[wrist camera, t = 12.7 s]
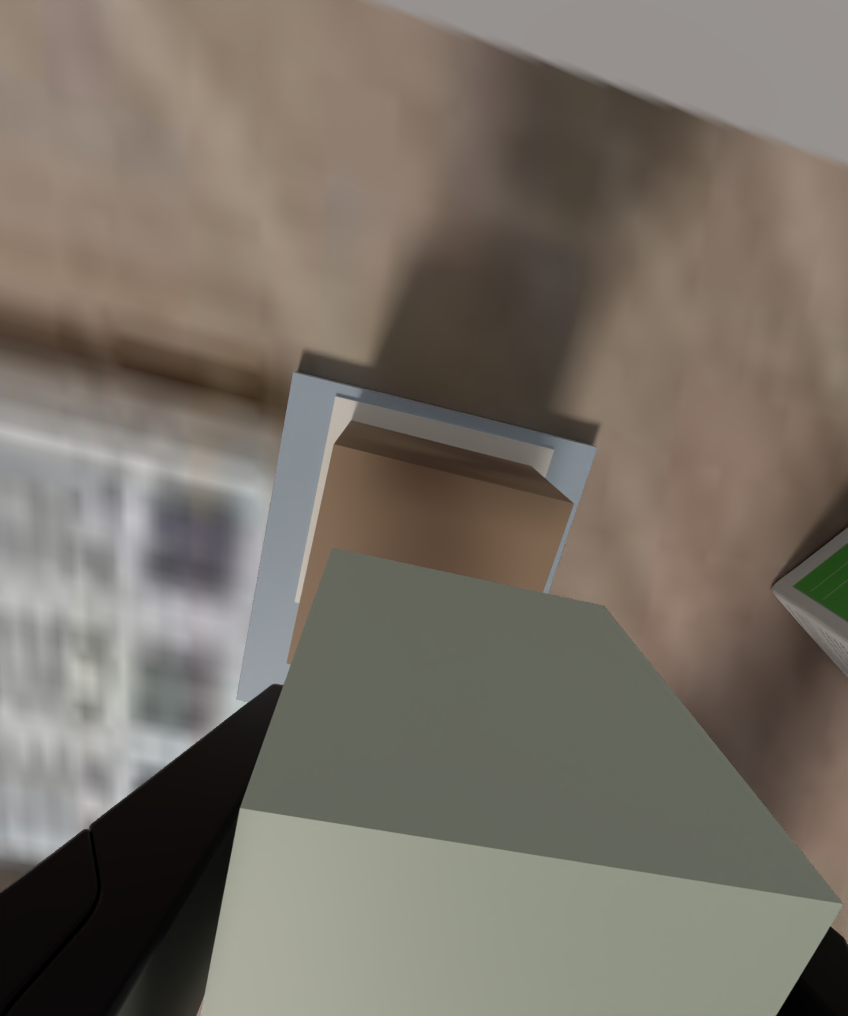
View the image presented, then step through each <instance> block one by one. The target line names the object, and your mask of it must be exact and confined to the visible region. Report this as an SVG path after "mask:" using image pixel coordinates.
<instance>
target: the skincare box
mask: <svg viewBox="0 0 848 1016" xmlns="http://www.w3.org/2000/svg"><path fill="white" fill-rule="evenodd" d="M771 589H772V592H773V593H774V595H775V596H776V597H777V598H778V600H779V601H780V602H781V603H782V605H783V606H784V607H785V608H786V609H787V610H788V611H789V613H790V614H791V615H792V616H793V617H794V618H795V619H796V621H797V622H798V623H799V624H800V625H801V626H802V627H803V628H804V630H805V631H806V632H807V633H808V634H809V635H810V636H811V637H812V639H813V640H814V641H815V642H816V643H817V644H818V645H819V646H820V648H821V649H822V650H823V651H824V652H825V653H826V654H827V655H828V657H829V658H830V659H831V660H832V661H833V662H834V663H835V664H836V665H837V667H838V668H839V669H840V670H841V671H842V672H843V673H844V674H845V675H846V677H847V678H848V527H847V528H846V529H845V530H844V531H842V532H841V533H840V534H838V535H837V536H836V537H835V538H833V539H832V540H831V541H830V542H828V543H827V544H826V545H824V546H823V547H822V548H821V549H819V550H818V551H817V552H815V553H814V554H813V555H812V556H810V557H809V558H808V559H806V560H805V561H804V562H803V563H801V564H800V565H799V566H798V567H796V568H795V569H793V570H792V571H790V572H789V573H788V574H786V575H785V576H784V577H783V578H781V579H780V580H779V581H777V582H776V583H775V584H774V585H773V586H772V588H771Z"/></svg>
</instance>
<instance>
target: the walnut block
mask: <svg viewBox="0 0 848 1016" xmlns="http://www.w3.org/2000/svg"><path fill="white" fill-rule="evenodd" d="M573 505H574V503H573V502H572V501H571V500H569V499H568V498H567V497H566V496H565V495H564V494H563V493H561V492H560V491H559V490H558V489H557V488H556V487H555V486H553V485H552V484H551V483H550V482H549V481H548V480H547V479H546V478H544V477H543V476H542V475H541V474H540V473H539V472H538V471H536V470H535V469H534V468H533V467H532V466H530V465H526V464H522V463H518V462H514V461H510V460H506V459H502V458H498V457H494V456H490V455H486V454H482V453H478V452H474V451H470V450H467V449H463V448H459V447H455V446H451V445H447V444H443V443H439V442H435V441H431V440H427V439H423V438H419V437H415V436H411V435H407V434H403V433H400V432H396V431H392V430H388V429H384V428H380V427H376V426H372V425H368V424H364V423H360V422H356V421H352V420H351V421H350V422H349V424H348V425H347V426H346V428H345V429H344V431H343V432H342V433H341V435H340V436H339V437H338V439H337V440H336V442H335V443H334V445H333V449H332V454H331V459H330V463H329V468H328V473H327V477H326V482H325V486H324V491H323V496H322V500H321V505H320V510H319V514H318V519H317V524H316V528H315V533H314V538H313V542H312V547H311V551H310V556H309V561H308V565H307V570H306V575H305V579H304V584H303V589H302V593H301V598H300V603H299V607H298V612H297V616H296V621H295V626H294V630H293V635H292V640H291V644H290V649H289V654H288V658H287V663H286V664H291V663H292V660H293V657H294V654H295V651H296V648H297V646H298V643H299V640H300V637H301V634H302V632H303V629H304V626H305V623H306V620H307V617H308V615H309V612H310V609H311V606H312V603H313V600H314V598H315V595H316V592H317V589H318V586H319V584H320V581H321V578H322V575H323V572H324V569H325V567H326V564H327V561H328V558H329V555H330V552H331V550H332V548H337V549H341V550H346V551H351V552H355V553H360V554H365V555H369V556H374V557H379V558H383V559H388V560H393V561H397V562H402V563H407V564H411V565H416V566H421V567H425V568H430V569H435V570H439V571H444V572H449V573H453V574H458V575H463V576H467V577H472V578H477V579H481V580H486V581H491V582H495V583H500V584H505V585H509V586H514V587H519V588H523V589H528V590H533V591H537V592H542V593H543V591H544V588H545V585H546V583H547V580H548V577H549V574H550V571H551V568H552V565H553V563H554V560H555V557H556V554H557V551H558V548H559V545H560V543H561V540H562V537H563V534H564V531H565V528H566V525H567V523H568V520H569V517H570V514H571V511H572V508H573Z"/></svg>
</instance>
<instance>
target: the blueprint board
mask: <svg viewBox="0 0 848 1016" xmlns="http://www.w3.org/2000/svg"><path fill="white" fill-rule="evenodd" d="M351 420H352V421H356V422H360V423H364V424H368V425H372V426H376V427H380V428H384V429H388V430H392V431H396V432H400V433H403V434H407V435H411V436H415V437H419V438H423V439H427V440H431V441H435V442H439V443H443V444H447V445H451V446H455V447H459V448H463V449H467V450H470V451H474V452H478V453H482V454H486V455H490V456H494V457H498V458H502V459H506V460H510V461H514V462H518V463H522V464H526V465H530V466H532V467H533V468H534V469H535V470H536V471H538V472H539V473H540V474H541V475H542V476H543V477H544V478H546V479H547V480H548V481H549V482H550V483H551V484H552V485H553V486H555V487H556V488H557V489H558V490H559V491H560V492H561V493H563V494H564V495H565V496H566V497H567V498H568V499H569V500H571V501H572V502H573V503H574V505H573V508H572V511H571V514H570V517H569V520H568V523H567V525H566V528H565V531H564V534H563V537H562V540H561V543H560V545H559V548H558V551H557V554H556V557H555V560H554V563H553V565H552V568H551V571H550V574H549V577H548V580H547V583H546V585H545V588H544V591H543V593H546V594H548V592H549V589H550V586H551V583H552V580H553V577H554V574H555V571H556V568H557V566H558V563H559V560H560V557H561V554H562V551H563V548H564V545H565V542H566V539H567V536H568V533H569V530H570V527H571V524H572V521H573V518H574V515H575V512H576V509H577V507H578V504H579V501H580V498H581V495H582V492H583V489H584V486H585V483H586V480H587V477H588V474H589V471H590V468H591V465H592V462H593V459H594V456H595V453H596V450H597V447H595V446H593V445H591V444H587V443H583V442H579V441H575V440H571V439H567V438H563V437H559V436H555V435H551V434H547V433H543V432H539V431H535V430H531V429H527V428H523V427H519V426H515V425H511V424H506V423H502V422H498V421H494V420H490V419H486V418H482V417H478V416H474V415H470V414H466V413H462V412H458V411H454V410H450V409H446V408H442V407H438V406H434V405H430V404H426V403H422V402H418V401H414V400H410V399H406V398H402V397H398V396H394V395H389V394H385V393H381V392H377V391H373V390H369V389H365V388H361V387H357V386H353V385H349V384H345V383H341V382H337V381H333V380H329V379H325V378H321V377H317V376H313V375H309V374H305V373H301V372H293V377H292V383H291V388H290V394H289V400H288V406H287V411H286V417H285V423H284V428H283V434H282V440H281V446H280V451H279V457H278V463H277V468H276V474H275V480H274V486H273V491H272V497H271V503H270V508H269V514H268V520H267V526H266V531H265V537H264V543H263V549H262V554H261V560H260V566H259V571H258V577H257V583H256V589H255V594H254V600H253V606H252V611H251V617H250V623H249V629H248V634H247V640H246V646H245V651H244V657H243V663H242V669H241V674H240V680H239V686H238V691H237V697H236V700H242V701H247V702H249V701H251V700H252V699H253V698H255V697H256V696H257V695H259V694H260V693H261V692H262V691H264V690H265V689H266V688H268V687H269V686H270V685H272V684H281V685H284V682H285V680H286V677H287V674H288V671H289V668H290V665H291V664H286V663H287V658H288V654H289V649H290V644H291V640H292V635H293V630H294V626H295V621H296V616H297V612H298V607H299V603H300V598H301V593H302V589H303V584H304V579H305V575H306V570H307V565H308V561H309V556H310V551H311V547H312V542H313V538H314V533H315V528H316V524H317V519H318V514H319V510H320V505H321V500H322V496H323V491H324V486H325V482H326V477H327V473H328V468H329V463H330V459H331V454H332V449H333V445H334V443H335V442H336V440H337V439H338V437H339V436H340V435H341V433H342V432H343V431H344V429H345V428H346V426H347V425H348V424H349V422H350V421H351Z"/></svg>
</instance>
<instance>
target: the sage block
mask: <svg viewBox="0 0 848 1016" xmlns="http://www.w3.org/2000/svg"><path fill="white" fill-rule="evenodd" d="M842 906H843V903H842V901H841V900H840V899H839V898H838V896H837V895H836V894H835V893H834V891H833V890H832V889H831V888H830V886H829V885H828V884H827V883H826V881H825V880H824V879H823V878H822V876H821V875H820V874H819V873H818V871H817V870H816V869H815V868H814V866H813V865H812V864H811V863H810V861H809V860H808V859H807V858H806V856H805V855H804V854H803V853H802V851H801V850H800V849H799V848H798V846H797V845H796V844H795V843H794V841H793V840H792V839H791V838H790V836H789V835H788V834H787V833H786V832H785V830H784V829H783V828H782V827H781V825H780V824H779V823H778V822H777V820H776V819H775V818H774V817H773V815H772V814H771V813H770V812H769V810H768V809H767V808H766V807H765V805H764V804H763V803H762V802H761V800H760V799H759V798H758V797H757V795H756V794H755V793H754V792H753V790H752V789H751V788H750V787H749V785H748V784H747V783H746V782H745V780H744V779H743V778H742V777H741V775H740V774H739V773H738V772H737V770H736V769H735V768H734V767H733V765H732V764H731V763H730V762H729V760H728V759H727V758H726V757H725V755H724V754H723V753H722V752H721V751H720V749H719V748H718V747H717V746H716V744H715V743H714V742H713V741H712V739H711V738H710V737H709V736H708V734H707V733H706V732H705V731H704V729H703V728H702V727H701V726H700V724H699V723H698V722H697V721H696V719H695V718H694V717H693V716H692V714H691V713H690V712H689V711H688V709H687V708H686V707H685V706H684V704H683V703H682V702H681V701H680V699H679V698H678V697H677V696H676V694H675V693H674V692H673V691H672V689H671V688H670V687H669V686H668V684H667V683H666V682H665V681H664V679H663V678H662V677H661V676H660V675H659V673H658V672H657V671H656V670H655V668H654V667H653V666H652V665H651V663H650V662H649V661H648V660H647V658H646V657H645V656H644V655H643V653H642V652H641V651H640V650H639V648H638V647H637V646H636V645H635V643H634V642H633V641H632V640H631V638H630V637H629V636H628V635H627V633H626V632H625V631H624V630H623V628H622V627H621V626H620V625H619V623H618V622H617V621H616V620H615V618H614V617H613V616H612V615H611V613H610V612H609V611H608V610H607V608H606V607H605V606H602V605H598V604H593V603H588V602H584V601H579V600H574V599H570V598H565V597H560V596H556V595H551V594H546V593H542V592H537V591H533V590H528V589H523V588H519V587H514V586H509V585H505V584H500V583H495V582H491V581H486V580H481V579H477V578H472V577H467V576H463V575H458V574H453V573H449V572H444V571H439V570H435V569H430V568H425V567H421V566H416V565H411V564H407V563H402V562H397V561H393V560H388V559H383V558H379V557H374V556H369V555H365V554H360V553H355V552H351V551H346V550H341V549H337V548H332V550H331V552H330V555H329V558H328V561H327V564H326V567H325V569H324V572H323V575H322V578H321V581H320V584H319V586H318V589H317V592H316V595H315V598H314V600H313V603H312V606H311V609H310V612H309V615H308V617H307V620H306V623H305V626H304V629H303V632H302V634H301V637H300V640H299V643H298V646H297V648H296V651H295V654H294V657H293V660H292V663H291V665H290V668H289V671H288V674H287V677H286V680H285V682H284V685H283V688H282V691H281V694H280V696H279V699H278V702H277V705H276V708H275V711H274V713H273V716H272V719H271V722H270V725H269V728H268V730H267V733H266V736H265V739H264V742H263V745H262V747H261V750H260V753H259V756H258V759H257V761H256V764H255V767H254V770H253V773H252V776H251V778H250V781H249V784H248V787H247V790H246V793H245V795H244V798H243V801H242V804H241V807H240V811H239V816H238V821H237V826H236V832H235V837H234V842H233V847H232V853H231V858H230V863H229V869H228V874H227V879H226V884H225V890H224V895H223V900H222V905H221V911H220V916H219V921H218V926H217V932H216V937H215V942H214V948H213V953H212V958H211V963H210V969H209V974H208V979H207V984H206V990H205V995H204V1000H203V1005H202V1011H201V1016H776V1015H777V1013H778V1012H779V1010H780V1008H781V1007H782V1005H783V1003H784V1002H785V1000H786V998H787V997H788V995H789V993H790V992H791V990H792V988H793V987H794V985H795V983H796V982H797V980H798V979H799V977H800V975H801V974H802V972H803V970H804V969H805V967H806V965H807V964H808V962H809V960H810V959H811V957H812V955H813V954H814V952H815V951H816V949H817V947H818V946H819V944H820V942H821V941H822V939H823V937H824V936H825V934H826V932H827V931H828V929H829V927H830V926H831V924H832V923H833V921H834V919H835V918H836V916H837V914H838V913H839V911H840V909H841V908H842Z"/></svg>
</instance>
